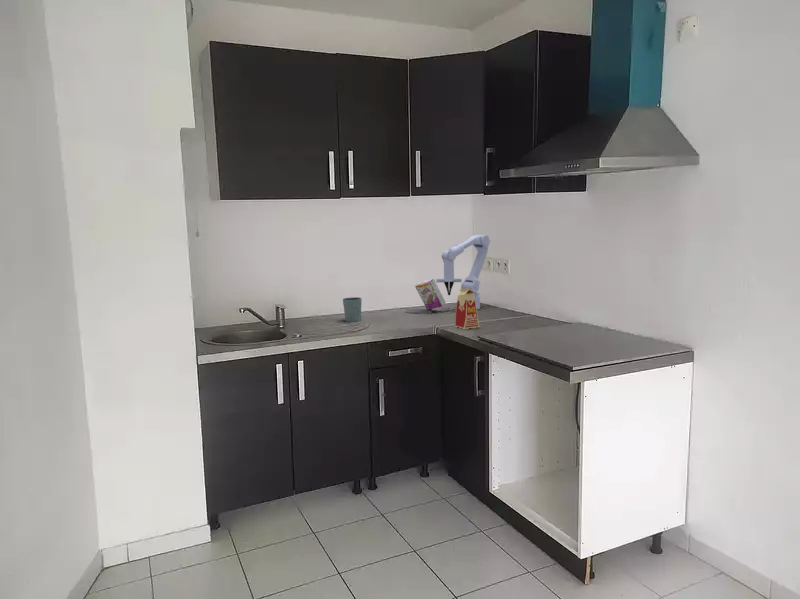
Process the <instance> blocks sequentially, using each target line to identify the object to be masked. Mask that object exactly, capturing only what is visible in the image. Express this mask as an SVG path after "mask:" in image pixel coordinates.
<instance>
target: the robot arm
mask: <svg viewBox="0 0 800 599" xmlns="http://www.w3.org/2000/svg"><path fill="white" fill-rule="evenodd" d="M490 244H491V240H490V237H489V235H487V234H473V235H470V237H469V238H468V239H466V240H465V241H464V242H462V243H455V244H454V245H453V246H452V247H449V248H448V249H445V250H444V251H442V254H441V259H442V262H443V278H436V280H435V283H436V284H437V283H444V286H445V288H446V291H447V296H451V293H452V290H453V289H452V288H453V286H454V284H455V283H461V286H460V289H466V288H470V289H469V290H470V291H472V292H474V296H475V302H476V308H477V310H480V309H481V307H480V306H481V299H480V298H481V296H480V295H481V294H480V293H479V289H480V280H479V277H480V274H481V272H482V268H483V266H484V262H485V261H486V258H487V256H488V251H489V245H490ZM471 246H473V247H474V248H475V250H476V251H477V253H476V255H475V258H474V261H473V264H472V266H471V270H470V272H469V275H468V276H467V277H465V278H464V280H462V278H455V267H454V265H455V262H454V261H455V260H456V258H457V257H458V256H460V255H461V254H462V253H464V252H465V249H467V248H469V247H471Z"/></svg>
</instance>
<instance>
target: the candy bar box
mask: <svg viewBox="0 0 800 599" xmlns="http://www.w3.org/2000/svg"><path fill="white" fill-rule="evenodd" d="M414 288H415V289H416V291H417V293H418V294H419V297H420V299H421V300H422V302H423V305H424V306H425V309H427V310H429V309H437V308H441V307H443V306H444V305H445V304H446V301H445V298H444V296H443V294H442V292H441V291H440V288H439V287H438V284H437V283H436V280H435V279H434V278H430V279H426V280H423V281H419V282H417V284H416V285H415V287H414Z"/></svg>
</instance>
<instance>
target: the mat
mask: <svg viewBox="0 0 800 599" xmlns="http://www.w3.org/2000/svg"><path fill="white" fill-rule="evenodd" d="M431 311H433V310H432V309H429V310H427V308H406V309H405V311H404V314H405V313H409V314H432V312H431Z"/></svg>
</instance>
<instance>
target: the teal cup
mask: <svg viewBox="0 0 800 599" xmlns="http://www.w3.org/2000/svg"><path fill="white" fill-rule="evenodd" d="M342 304H343V311H344V319H345V322H347V323H357V322H361V321H362V297H355V296H354V297H352V296H351V297H345V298H343V299H342Z"/></svg>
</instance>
